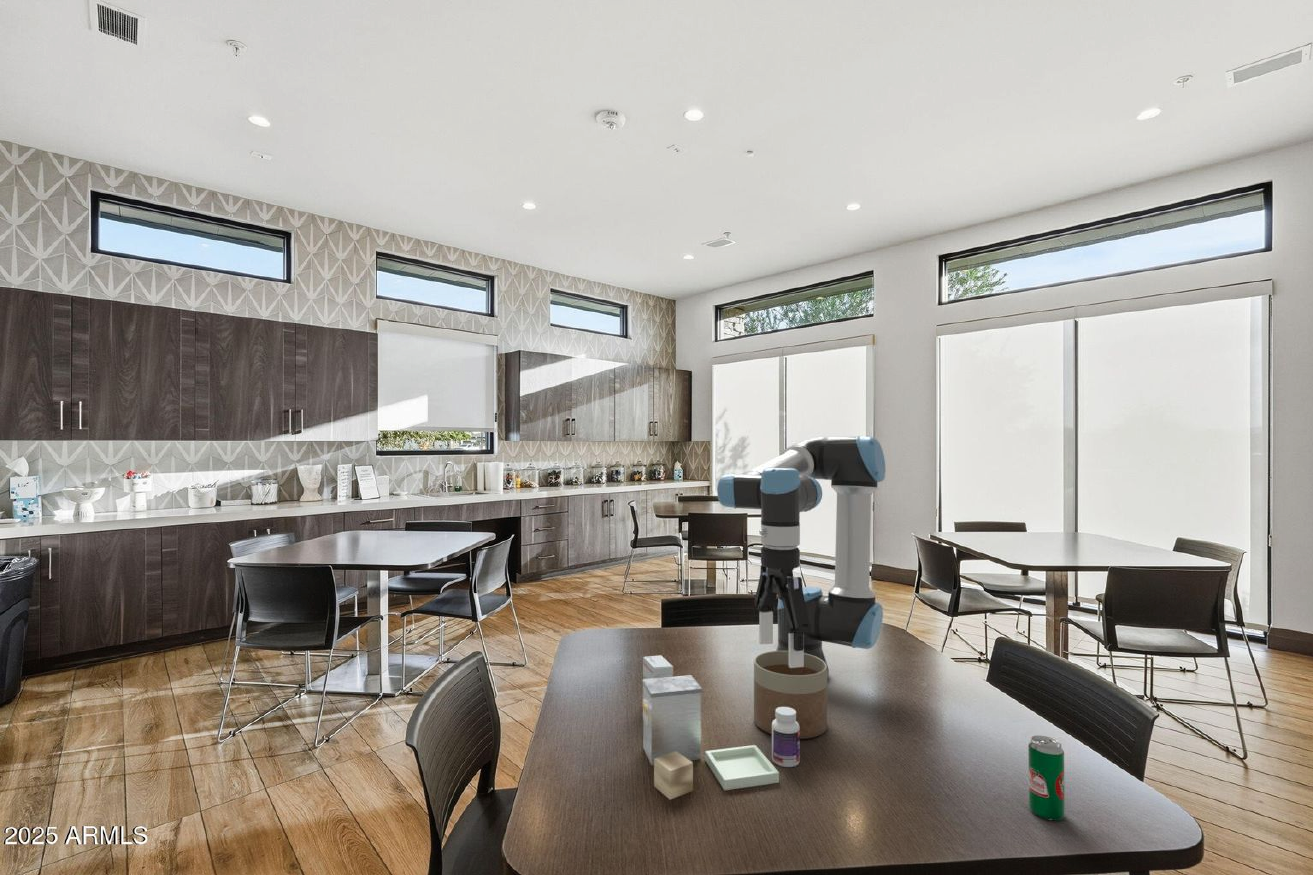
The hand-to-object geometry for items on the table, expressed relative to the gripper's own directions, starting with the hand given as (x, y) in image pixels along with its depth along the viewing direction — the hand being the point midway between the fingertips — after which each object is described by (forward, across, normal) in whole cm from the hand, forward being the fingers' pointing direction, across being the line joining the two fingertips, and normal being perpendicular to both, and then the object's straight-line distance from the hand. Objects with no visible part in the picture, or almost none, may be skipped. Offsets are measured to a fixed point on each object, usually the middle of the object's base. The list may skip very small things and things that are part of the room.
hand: (780, 654), depth 118 cm
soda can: (+21, +26, +36) cm, 49 cm away
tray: (+21, +2, -9) cm, 23 cm away
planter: (+21, -14, +9) cm, 26 cm away
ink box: (+21, -26, -18) cm, 38 cm away
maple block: (+21, +5, -23) cm, 31 cm away
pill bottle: (+21, 0, +1) cm, 21 cm away
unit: (+21, -7, -20) cm, 30 cm away
